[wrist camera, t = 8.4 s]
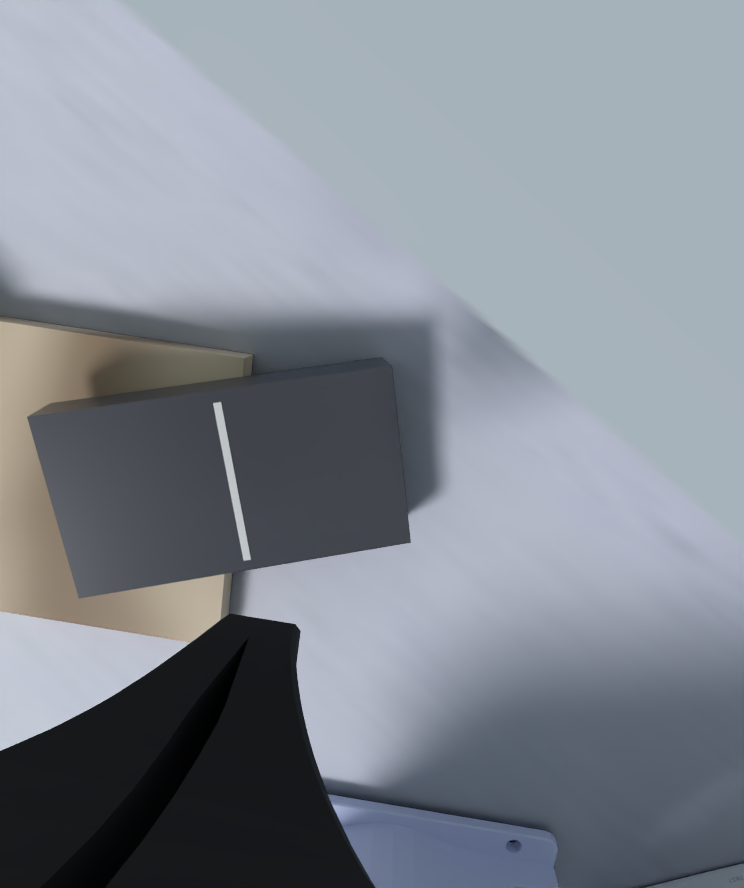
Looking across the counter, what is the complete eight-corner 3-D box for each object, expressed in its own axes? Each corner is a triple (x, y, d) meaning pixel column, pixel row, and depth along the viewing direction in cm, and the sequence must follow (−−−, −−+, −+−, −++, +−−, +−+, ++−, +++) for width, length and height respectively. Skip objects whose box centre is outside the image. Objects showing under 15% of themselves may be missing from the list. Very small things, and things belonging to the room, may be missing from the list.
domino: (50, 402, 17) (382, 357, 17) (96, 570, 18) (400, 520, 19) (26, 417, 15) (391, 366, 16) (78, 599, 16) (410, 542, 17)
